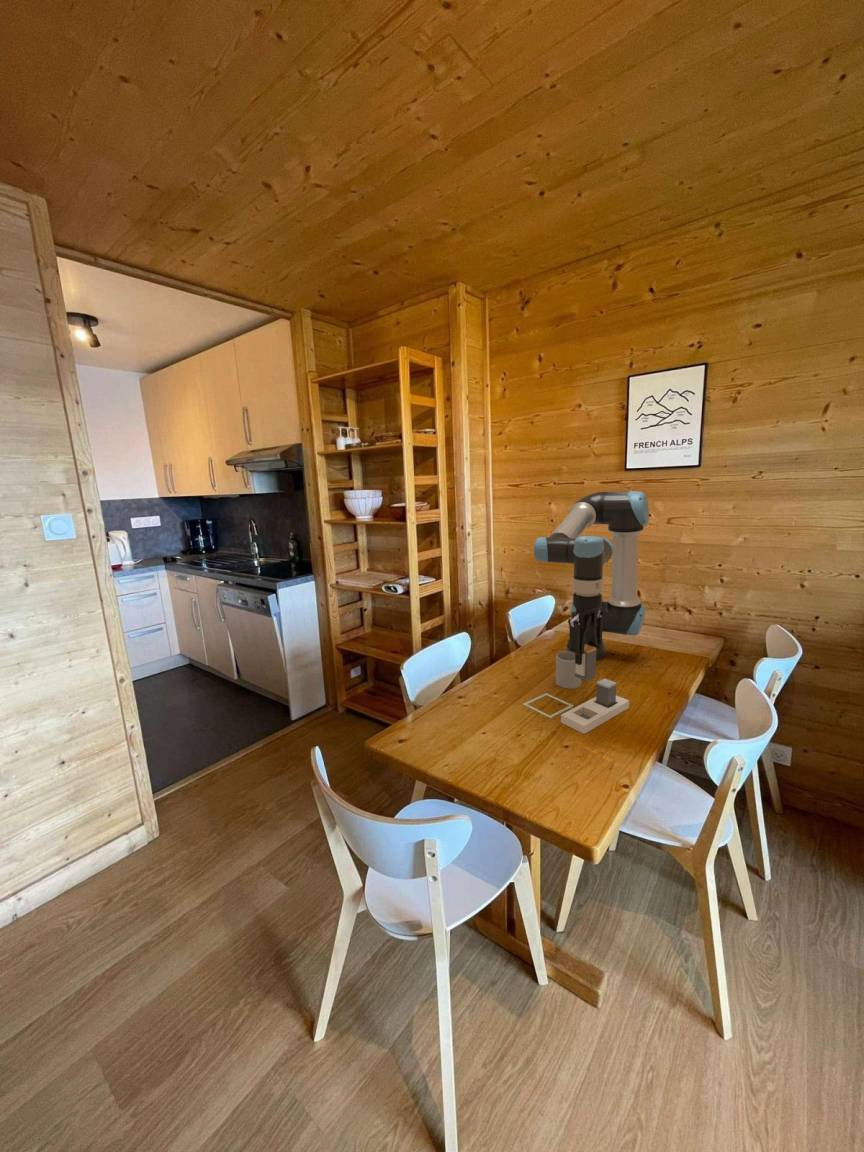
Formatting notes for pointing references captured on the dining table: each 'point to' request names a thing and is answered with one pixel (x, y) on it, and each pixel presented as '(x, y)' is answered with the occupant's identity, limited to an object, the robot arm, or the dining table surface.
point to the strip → (592, 714)
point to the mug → (566, 670)
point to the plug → (589, 663)
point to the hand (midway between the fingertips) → (585, 671)
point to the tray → (545, 713)
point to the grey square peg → (606, 693)
